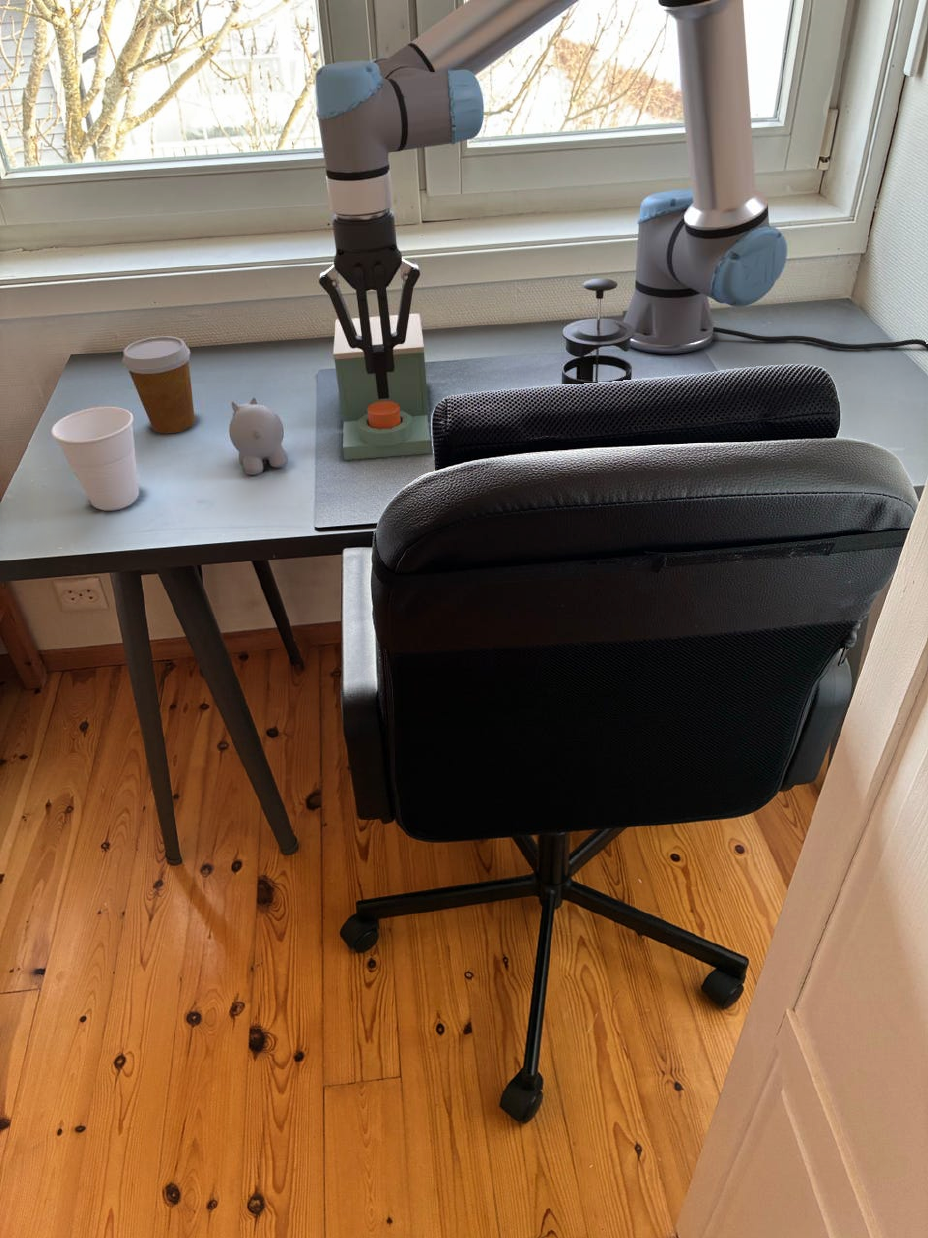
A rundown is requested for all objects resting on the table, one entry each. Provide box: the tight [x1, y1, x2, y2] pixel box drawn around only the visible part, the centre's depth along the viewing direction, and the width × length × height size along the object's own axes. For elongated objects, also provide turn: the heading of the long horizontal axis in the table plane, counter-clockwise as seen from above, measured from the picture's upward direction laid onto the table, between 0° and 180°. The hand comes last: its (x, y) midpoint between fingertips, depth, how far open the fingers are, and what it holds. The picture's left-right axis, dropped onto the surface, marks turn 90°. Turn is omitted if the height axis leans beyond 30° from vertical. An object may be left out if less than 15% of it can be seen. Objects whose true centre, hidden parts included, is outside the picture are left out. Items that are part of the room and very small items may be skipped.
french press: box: [561, 277, 634, 385], centre depth 122 cm, size 12×9×23 cm
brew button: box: [367, 401, 401, 429], centre depth 129 cm, size 4×4×2 cm
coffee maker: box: [334, 351, 430, 426], centre depth 140 cm, size 13×13×11 cm
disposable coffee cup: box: [121, 335, 196, 434], centre depth 138 cm, size 10×10×12 cm
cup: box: [50, 406, 140, 512], centre depth 121 cm, size 10×10×11 cm
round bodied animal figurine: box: [228, 397, 289, 476], centre depth 129 cm, size 7×12×8 cm, turn 23°
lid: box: [332, 312, 425, 360], centre depth 136 cm, size 14×13×1 cm
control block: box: [342, 411, 432, 461], centre depth 132 cm, size 12×9×4 cm
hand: (383, 394), depth 128 cm, fingers closed
